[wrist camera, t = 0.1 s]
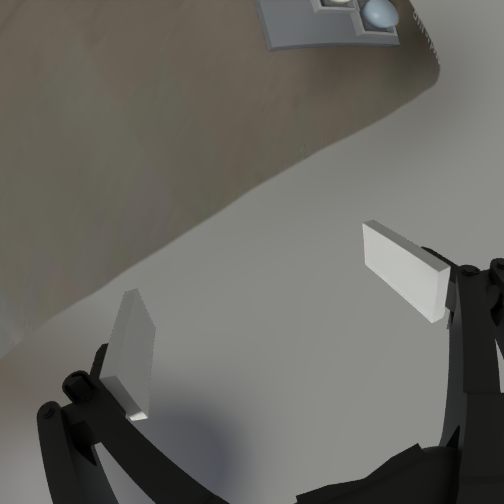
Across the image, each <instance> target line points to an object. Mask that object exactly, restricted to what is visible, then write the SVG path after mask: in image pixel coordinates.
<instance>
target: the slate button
mask: <svg viewBox="0 0 504 504" xmlns="http://www.w3.org/2000/svg"><path fill="white" fill-rule="evenodd" d="M362 13H363V16H364V18H365V20H366V21H367V22H368V23H369V24H370V25H371V26H373V27H375V28H377V29H385V28H388V27H390V26H393V25H395V24H396V23H397V22H398V13H397V10H396V8H395V7H394V6H393V4H392V3H391V2H389V1H388V0H370V1H368V2H366V3H365V4H364V5H363V7H362Z"/></svg>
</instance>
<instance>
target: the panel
mask: <svg viewBox="0 0 504 504" xmlns="http://www.w3.org/2000/svg"><path fill="white" fill-rule="evenodd" d="M368 1H370V0H350V1H349V2H347V3H345V4H335V3H332V2H330V1H328V0H254V3H255V6H256V9H257V13H258V16H259V20H260V23H261V27H262V31H263V34H264V38H265V42H266V45H267V49H268V52H270V51H278V50H287V49H297V48H310V47H327V46H381V47H394V46H397V45H400V42H399V38H398V35H397V31H396V28H395V25H393V26H390V27H388V28H385V29H377V28H375V27H373V26H371V25H370V24H369V23H368V22H367V21H366V20H365V18H364V16H363V13H362V7H363V5H364V4H365V3H366V2H368Z"/></svg>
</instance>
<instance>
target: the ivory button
mask: <svg viewBox="0 0 504 504" xmlns="http://www.w3.org/2000/svg"><path fill="white" fill-rule="evenodd" d="M328 1H330V2H332V3H335V4H345V3H347V2H349V1H350V0H328Z"/></svg>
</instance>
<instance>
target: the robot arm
mask: <svg viewBox="0 0 504 504" xmlns="http://www.w3.org/2000/svg"><path fill="white" fill-rule="evenodd" d="M363 236H364V251H365V264H366V266H368V267H369V268H370V269H371V270H372V271H374V272H375V273H376V274H377V275H378V276H379V277H381V278H382V279H383V280H384V281H385V282H387V283H388V284H389V285H390V286H391V287H392V288H393V289H395V290H396V291H397V292H398V293H399V294H400V295H401V296H402V297H404V298H405V299H406V300H407V301H408V302H409V303H410V304H412V305H413V306H414V307H415V308H416V309H417V310H418V311H419V312H420V313H422V315H424V316H425V317H426V318H427V319H428V320H429V321H430V322H431V323H433V322H435V321H437V320H439V319H441V318H443V316H444V311H445V306H446V307H447V308H448V309H449V310H450V315H449V320H448V325H447V329H449V333H450V334H449V336H450V337H449V340H450V341H449V373H448V389H447V400H446V410H445V418H444V425H443V432H442V437H441V440H440V443H439V446H435V447H428V448H423V449H421V447H420V446H419V444H418V443H417V444H415V445H414V446H412V447H410V448H408V449H406V450H405V451H403V452H401V453H399V454H397V455H395V456H393V457H391V458H390V459H389V460H388V461H386V462H385V463H384V464H383V465H382V466H380V467H379V468H378V469H376V470H375V471H374V472H372V473H371V474H370V475H369V476H367V477H366V478H364V479H361V480H356V481H350V482H345V483H339V484H332V485H327V486H324V487H321V488H319V489H316V490H313V491H310V492H307V493H303V494H300V495H297V496H296V498H297V501H298V502H296V503H295V504H504V393H501V392H500V381H499V368H498V358H497V350H496V342H495V339H496V341H497V344H498V346H499V349H500V351H501V353H502V356H503V358H504V259H503V258H496V259H493V260H492V261H491V263H490V269H488V270H483V271H480V269H478V268H477V267H475V266H472V265H462V266H457V265H456V264H454V263H453V262H451V261H450V260H448V259H446V258H445V257H443V256H442V255H440V254H438V253H437V252H435V251H433V250H432V249H429V248H426V247H419V246H417V245H416V244H414V243H412V242H411V241H409V240H407V239H406V238H404V237H402V236H401V235H399V234H397V233H395V232H394V231H392V230H390V229H389V228H387V227H385V226H383V225H382V224H380V223H378V222H376V221H374V220H371V221H368V222H364V223H363ZM155 330H156V327H155V325H154V324H153V321H152V319H151V317H150V315H149V313H148V311H147V309H146V307H145V304H144V302H143V300H142V298H141V296H140V294H139V291H138V289H134V290H131V291H127V292H125V294H124V297H123V300H122V302H121V306H120V309H119V312H118V315H117V318H116V321H115V324H114V327H113V331H112V334H111V337H110V341H109V343H107V344H102V345H101V347H100V348H99V350H98V351H97V352H96V356H95V359H94V362H93V365H92V366H93V367H92V369H91V372H90V375H88V373H87V372H85V371H81V370H80V371H76V372H73V373H72V374H70V375H69V376H68V377H67V378H66V379H65V380H64V382H63V385H62V389H63V392H64V393H65V394H66V395H67V396H68V398H69V399H70V400H71V401H72V402H73V403H71V404H68V405H66V406H64V407H60V405H59V404H58V403H56V402H55V401H50V402H47V403H45V404H44V405H42V406H41V407H40V409H39V411H38V413H37V425H38V433H39V440H40V446H41V453H42V458H43V464H44V468H45V473H46V478H47V482H48V486H49V490H50V494H51V498H52V501H53V504H119V503H118V501H117V499H116V497H115V495H114V493H113V491H112V488H111V486H110V484H109V482H108V479H107V477H106V474H105V472H104V470H103V467H102V465H101V462H100V460H99V457H98V455H97V452H96V449H95V446H94V445H95V444H97V443H99V442H101V443H102V444H103V445H104V447H105V448H106V449H107V450H108V452H109V453H110V454H111V455H112V456H113V458H114V459H115V460H116V461H117V463H118V464H119V465H120V466H121V467H122V468H123V470H124V471H125V472H126V473H127V474H128V475H129V476H130V477H131V478H132V480H133V481H134V482H135V483H136V484H137V485H138V486H139V487H140V488H141V489H142V490H143V491H144V492H145V493H146V494H147V495H148V496H149V497H150V498H151V499H152V500H153V501H154V502H155V503H156V504H229V503H228V502H226V501H225V500H223V499H222V498H220V497H219V496H217V495H215V494H213V493H212V492H210V491H209V490H207V489H206V488H205V487H203V486H202V485H201V484H199V483H198V482H197V481H195V480H194V479H193V478H191V477H190V476H189V475H188V474H187V473H185V472H184V471H183V470H182V469H180V468H179V467H178V466H177V465H176V464H174V463H173V462H172V461H171V460H170V459H168V458H167V457H166V456H165V455H164V454H163V453H162V452H160V451H159V450H158V449H157V448H156V447H155V446H154V445H153V444H152V443H151V442H150V441H149V440H147V439H146V438H145V437H144V436H143V435H142V434H141V433H140V432H139V431H138V430H137V429H136V428H135V427H134V426H133V425H132V424H131V423H130V422H129V421H128V420H127V419H126V418H125V416H126V414H127V415H128V416H129V417H130V418H131V420H139V419H145V418H148V408H149V393H150V380H151V368H152V357H153V348H154V339H155Z"/></svg>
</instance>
